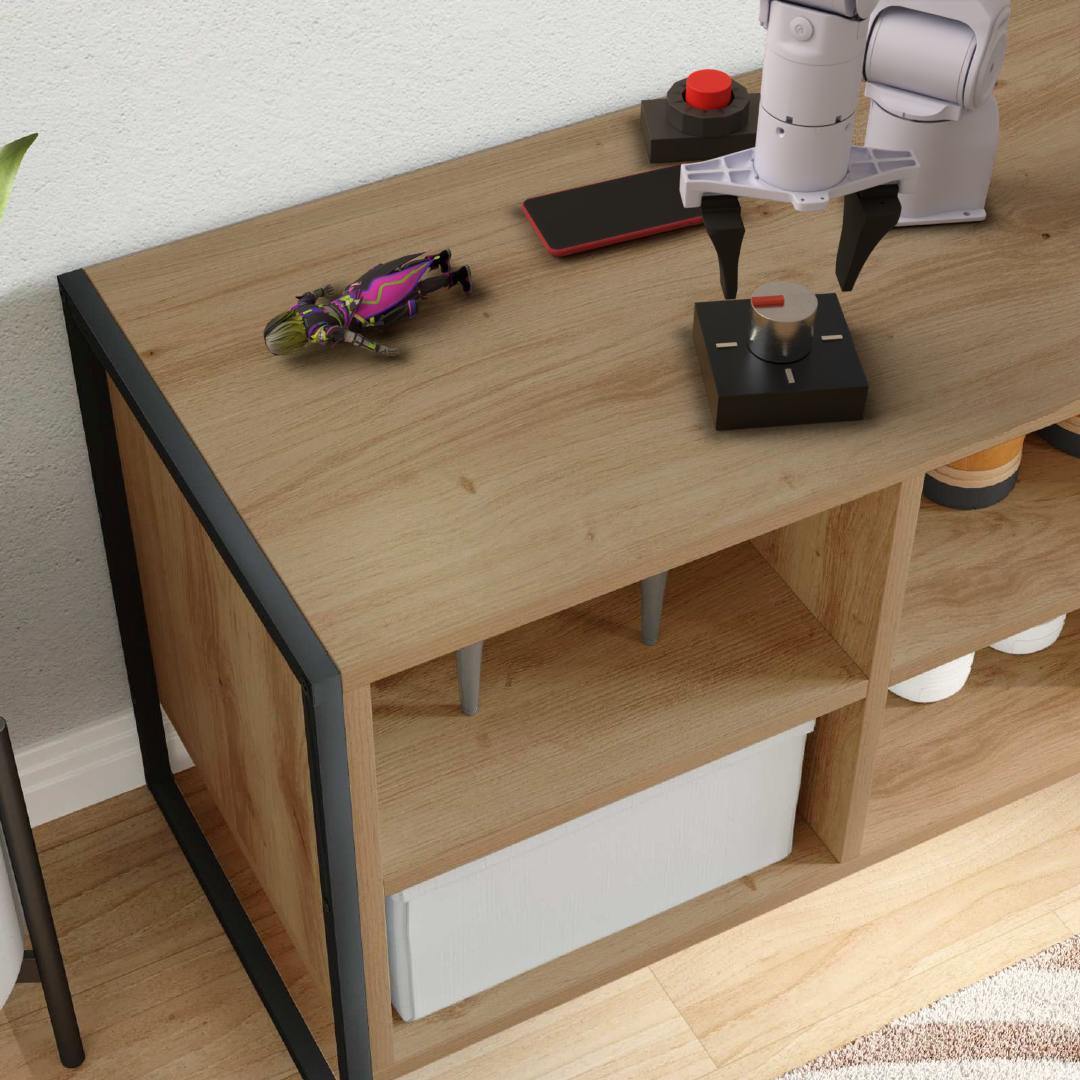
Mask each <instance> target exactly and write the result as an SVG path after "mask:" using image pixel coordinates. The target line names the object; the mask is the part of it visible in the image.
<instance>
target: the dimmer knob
mask: <svg viewBox="0 0 1080 1080" xmlns="http://www.w3.org/2000/svg"><path fill="white" fill-rule="evenodd" d="M815 294H816V293H814V292H813V291H812V290H811V289H810V288H808V287H807V286H806V285H803V284H801V283H798V282H794V281H789V280H775V281H774V280H773V281H769V282H766V283H763V284H761V285H759V286H757V288H756V289H754V290H753V292H752V294H751V296H750V299H751V302H750V312H749V322H748V332H747V345H748V347H749V349H750V350H751V351H752V352H753V353H754V354H755V355H756V356H758V357H760V358H762V359H764V360H767V361H770V362H776V363H788V362H794V361H797V360H799V359H801V358H803V357H805V356H806V355H807V354H808V353H809V352H810V350H811V348H812V342H813V335H814V328H815V321H816V314H817V307H818V301H817V298H816V296H815Z"/></svg>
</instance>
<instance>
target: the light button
mask: <svg viewBox="0 0 1080 1080" xmlns="http://www.w3.org/2000/svg"><path fill="white" fill-rule="evenodd" d="M687 77H688V78H687ZM687 77H686V78H687V83H686V102H687V104H689V105H690V106H692V107H694V108H699V109H703V110H712V109H721V108H723V107H726V106H728V105H729V103H730V100H731V87H732V80H731V79H732V78H731V76H730V74H728V73H726V72H724V71H722V70H719V69H714V68H703V69H698V70H696V71H693V72H691V73H690V74H689V75H688V76H687Z"/></svg>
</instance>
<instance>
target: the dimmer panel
mask: <svg viewBox="0 0 1080 1080" xmlns="http://www.w3.org/2000/svg"><path fill="white" fill-rule="evenodd" d="M814 294H815V296H816V298H817V301H818V307H817V314H816V321H815V328H814V335H813V342H812V348H811V350H810V352H809V353H808V354H807V355H806V356H805V357H803V358H801V359H799V360H797V361H794V362H788V363H776V362H770V361H767V360H764V359H762V358H760V357H758V356H756V355H755V354H754V353H753V352H752V351H751V350H750V349H749V347H748V345H747V332H748V322H749V312H750V302H751V298H740V299H731V300H726V299H724V300H710V301H696V302H694V305H693V307H694V308H693V322H692V340H693V344H694V348H695V353H696V356H697V360H698V364H699V365H698V366H699V367H700V372H701V376H702V377H701V378H702V380H703V381H702V382H703V385H704V389H705V392H706V393H705V394H706V396H707V401H708V405H709V409H710V413H711V417H712V421H713V425H714V430H715V431H722V430H723V431H724V430H725V431H726V430H737V429H739V430H740V429H750V428H751V429H752V428H764V427H765V428H766V427H779V426H792V425H803V424H804V425H805V424H806V425H807V424H819V423H821V424H822V423H832V422H847V421H860V420H863V419H864V417H865V416H864V415H865V411H866V410H865V409H866V404H867V400H868V399H867V398H868V393H869V387H870V385H869V383H868V380H867V377H866V374H865V371H864V368H863V366H862V362H861V359H860V357H859V354H858V351H857V349H856V345H855V342H854V340H853V337H852V335H851V334H852V333H851V331H850V329H849V326H848V323H847V321H846V318H845V315H844V312H843V309H842V306H841V303H840V301H839V298H838V295H837V292H826V293H814Z"/></svg>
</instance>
